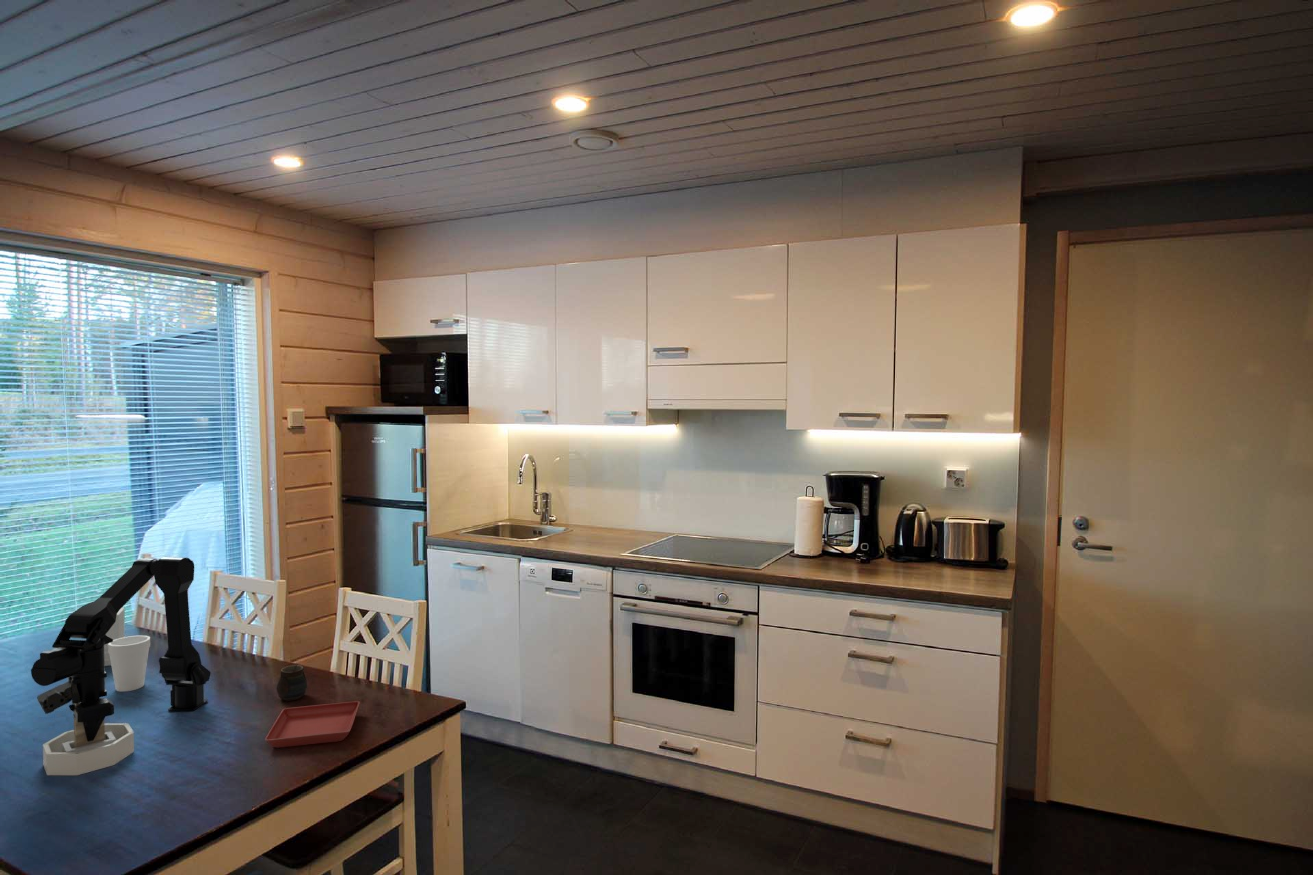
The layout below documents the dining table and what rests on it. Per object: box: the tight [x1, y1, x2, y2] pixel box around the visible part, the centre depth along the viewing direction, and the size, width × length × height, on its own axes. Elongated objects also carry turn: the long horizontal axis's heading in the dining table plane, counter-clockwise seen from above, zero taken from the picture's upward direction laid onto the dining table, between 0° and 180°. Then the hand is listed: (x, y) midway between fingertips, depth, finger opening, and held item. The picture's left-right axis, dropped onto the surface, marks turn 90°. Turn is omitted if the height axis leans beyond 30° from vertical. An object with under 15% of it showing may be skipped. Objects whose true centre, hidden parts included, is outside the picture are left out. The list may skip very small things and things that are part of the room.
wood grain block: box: [73, 710, 105, 748], centre depth 158 cm, size 2×5×9 cm, turn 136°
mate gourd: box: [276, 664, 308, 702], centre depth 193 cm, size 7×8×10 cm
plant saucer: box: [264, 700, 361, 749], centre depth 173 cm, size 18×18×3 cm
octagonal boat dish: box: [42, 722, 135, 776], centre depth 158 cm, size 15×15×4 cm
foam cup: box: [108, 635, 151, 692], centre depth 199 cm, size 10×9×13 cm
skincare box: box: [104, 606, 126, 667], centre depth 218 cm, size 8×7×16 cm
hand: (89, 738), depth 158 cm, fingers closed on wood grain block, 2 cm apart
